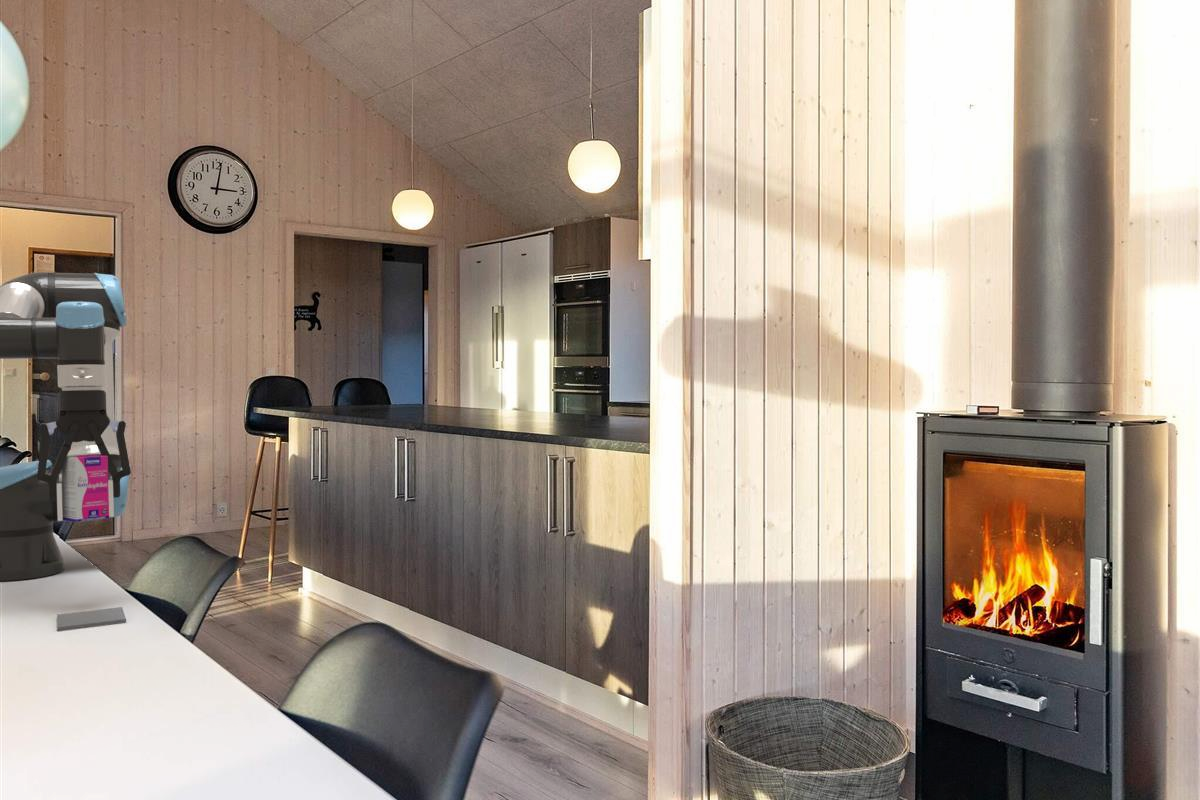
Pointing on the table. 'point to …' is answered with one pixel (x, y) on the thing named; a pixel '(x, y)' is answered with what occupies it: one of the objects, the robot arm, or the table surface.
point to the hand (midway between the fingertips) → (85, 517)
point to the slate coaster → (90, 618)
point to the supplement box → (85, 488)
